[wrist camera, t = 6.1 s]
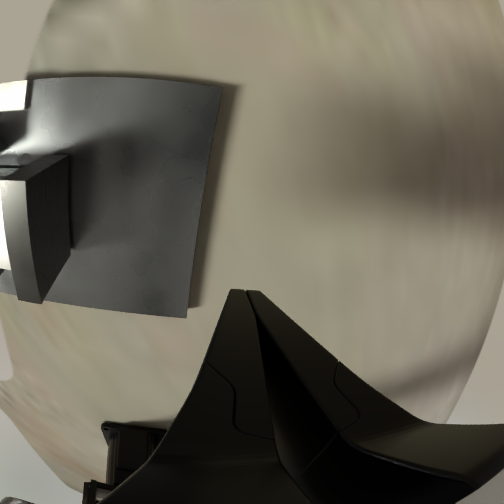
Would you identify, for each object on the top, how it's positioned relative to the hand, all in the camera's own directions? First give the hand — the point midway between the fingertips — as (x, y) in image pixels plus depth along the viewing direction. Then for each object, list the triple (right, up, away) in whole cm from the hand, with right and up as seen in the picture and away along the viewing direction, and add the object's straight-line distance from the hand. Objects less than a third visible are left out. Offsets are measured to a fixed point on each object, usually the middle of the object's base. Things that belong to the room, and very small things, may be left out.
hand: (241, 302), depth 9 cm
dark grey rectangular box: (-15, +5, +1) cm, 16 cm away
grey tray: (-14, +5, +3) cm, 15 cm away
